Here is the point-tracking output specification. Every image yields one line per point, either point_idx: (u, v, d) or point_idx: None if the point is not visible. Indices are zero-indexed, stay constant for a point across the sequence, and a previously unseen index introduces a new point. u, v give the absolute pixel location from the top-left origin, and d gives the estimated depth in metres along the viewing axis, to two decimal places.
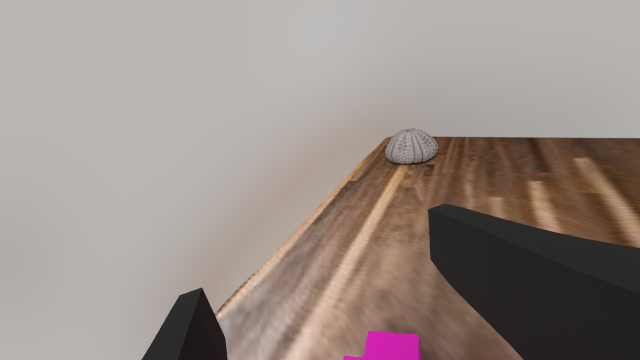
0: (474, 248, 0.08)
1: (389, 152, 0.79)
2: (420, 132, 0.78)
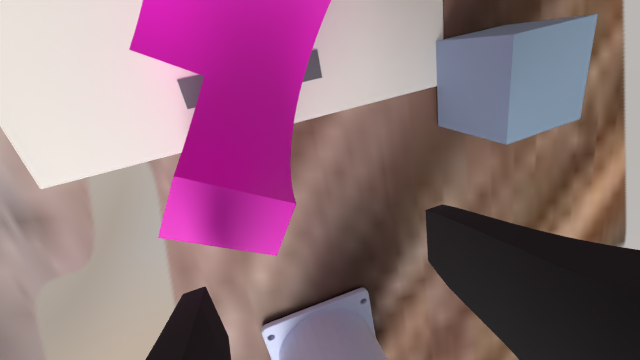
0: (470, 250, 0.08)
1: None
2: None
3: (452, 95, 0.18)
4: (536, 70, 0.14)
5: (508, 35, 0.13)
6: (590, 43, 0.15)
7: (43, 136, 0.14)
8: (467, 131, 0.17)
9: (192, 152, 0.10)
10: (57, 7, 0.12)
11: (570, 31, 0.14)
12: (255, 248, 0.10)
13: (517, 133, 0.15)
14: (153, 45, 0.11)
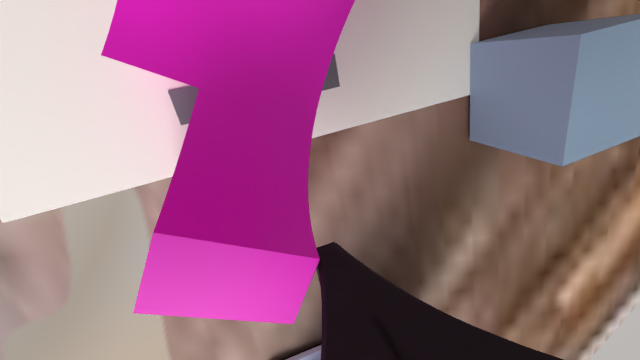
0: None
1: None
2: None
3: (490, 106, 0.15)
4: (602, 78, 0.12)
5: (572, 35, 0.11)
6: None
7: (4, 160, 0.11)
8: (508, 148, 0.15)
9: (182, 190, 0.08)
10: (17, 3, 0.10)
11: None
12: (265, 317, 0.08)
13: (575, 152, 0.13)
14: (133, 49, 0.09)
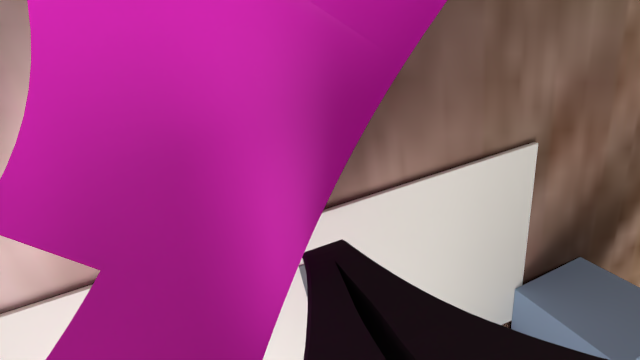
0: (351, 296, 0.07)
1: None
2: None
3: None
4: None
5: None
6: None
7: None
8: None
9: None
10: None
11: None
12: None
13: None
14: (20, 215, 0.06)
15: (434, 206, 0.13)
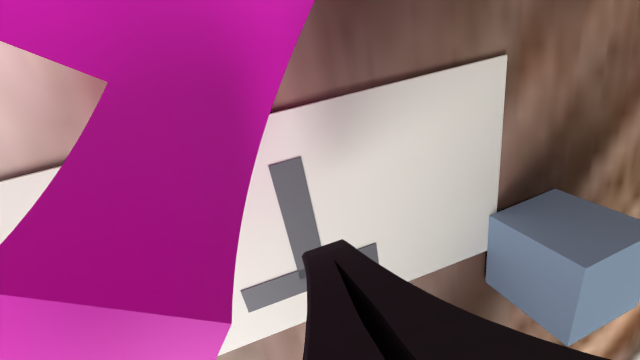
0: (351, 296, 0.07)
1: None
2: None
3: (505, 269, 0.18)
4: (602, 286, 0.14)
5: (578, 264, 0.13)
6: None
7: None
8: (520, 307, 0.17)
9: (48, 218, 0.05)
10: None
11: (637, 248, 0.14)
12: None
13: (578, 335, 0.15)
14: (16, 24, 0.06)
15: (403, 115, 0.14)
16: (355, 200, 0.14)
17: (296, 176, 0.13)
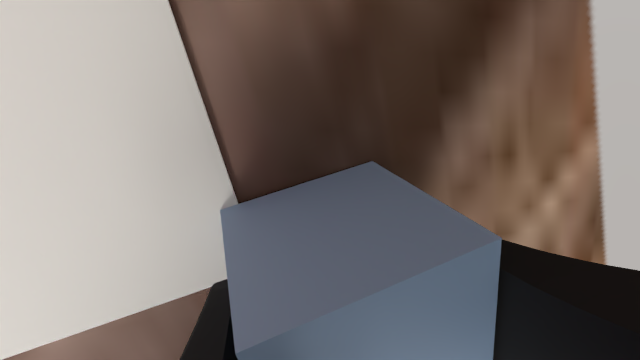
0: None
1: None
2: None
3: None
4: None
5: (237, 337, 0.05)
6: (493, 290, 0.06)
7: None
8: None
9: None
10: None
11: (428, 289, 0.06)
12: None
13: None
14: None
15: None
16: None
17: None
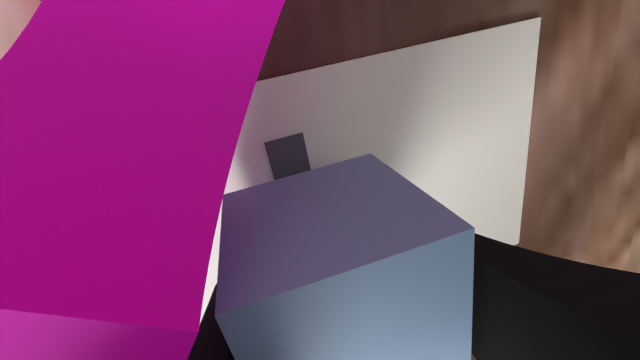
0: None
1: None
2: None
3: None
4: (320, 354, 0.06)
5: (218, 303, 0.05)
6: (467, 278, 0.06)
7: None
8: None
9: None
10: None
11: (399, 272, 0.06)
12: None
13: None
14: None
15: (422, 85, 0.12)
16: None
17: (298, 156, 0.11)
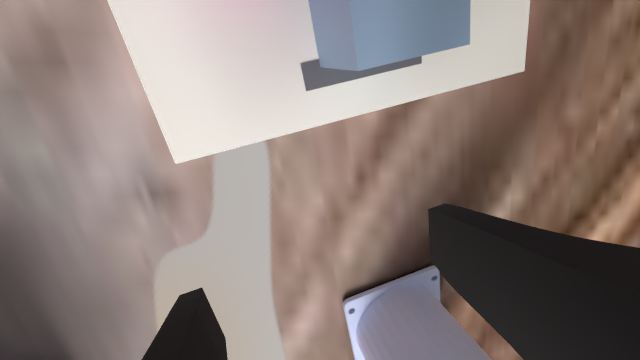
0: (474, 248, 0.08)
1: None
2: None
3: (320, 21, 0.14)
4: None
5: None
6: None
7: (184, 114, 0.15)
8: (335, 65, 0.14)
9: None
10: None
11: None
12: None
13: (372, 56, 0.12)
14: None
15: None
16: None
17: None
